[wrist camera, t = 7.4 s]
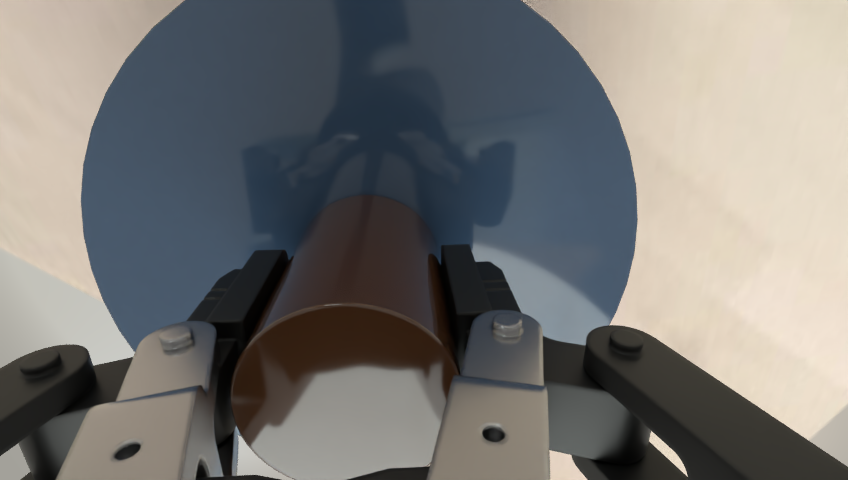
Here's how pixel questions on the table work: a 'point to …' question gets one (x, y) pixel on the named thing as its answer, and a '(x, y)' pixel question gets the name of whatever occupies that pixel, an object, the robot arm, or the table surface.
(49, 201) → the table surface
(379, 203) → the lid
